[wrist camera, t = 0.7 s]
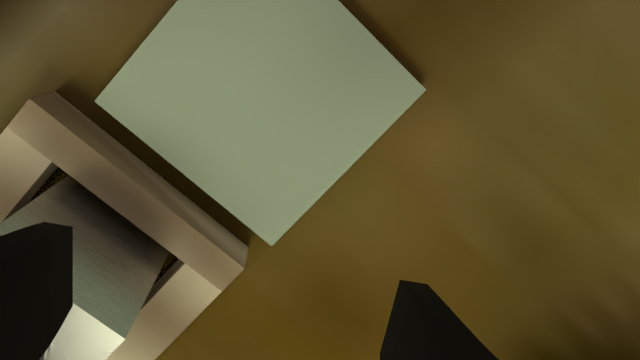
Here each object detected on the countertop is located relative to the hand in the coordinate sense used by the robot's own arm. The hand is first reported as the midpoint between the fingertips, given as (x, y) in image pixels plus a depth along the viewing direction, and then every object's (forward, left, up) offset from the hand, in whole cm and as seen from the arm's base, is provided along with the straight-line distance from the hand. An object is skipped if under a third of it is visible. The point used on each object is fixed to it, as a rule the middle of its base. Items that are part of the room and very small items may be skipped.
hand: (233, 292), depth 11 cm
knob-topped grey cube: (-7, -4, -11) cm, 13 cm away
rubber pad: (0, +3, -11) cm, 11 cm away
